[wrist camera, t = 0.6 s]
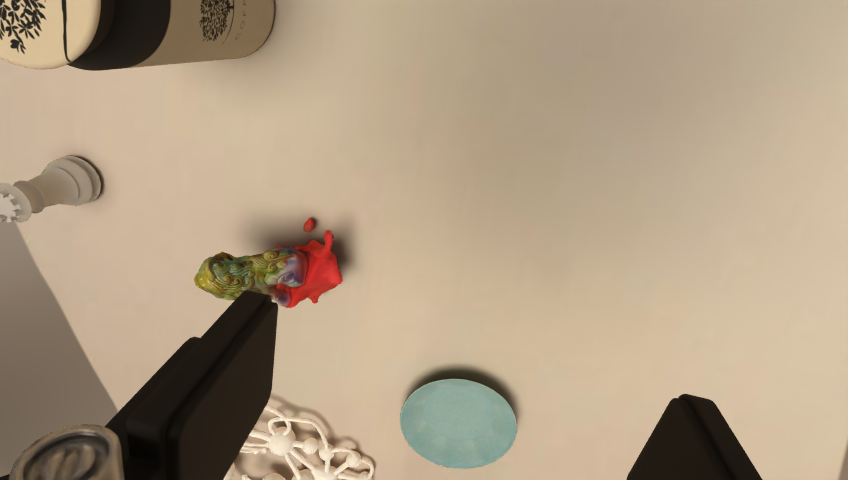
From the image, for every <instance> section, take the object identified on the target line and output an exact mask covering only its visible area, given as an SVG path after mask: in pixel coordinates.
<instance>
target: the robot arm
mask: <svg viewBox="0 0 848 480" xmlns="http://www.w3.org/2000/svg"><path fill="white" fill-rule="evenodd" d="M277 314H278V304H277V303H274V302H272V299H271V296H270V295H267V294H263V293H259V292H255V291H251V290H245V291H243V292H242V293H241V294H240V296H239V297H238V298H237V299H236V300H235V301H234V302H233V303H232V304H231V305H230V306H229V308H228V309H227V310H226V311H225V312H224V313H223V314H222V315H221V316H220V317H219V318H218V320H217V321H216V322H215V323H214V324H213V325H212V326H211V327H210V328H209V329H208V331H207V332H206V333H205V334H204V335H203V336H202V337H201V338H198V337H192V338H190V339H189V340H187V341H186V342H185V343H184V344H183V345H182V346H181V347H180V348H179V349H178V350H177V351H176V352H175V353H174V354H173V355H172V357H171V358H170V359H169V360H168V361H167V362H166V363H165V364H164V365H163V366H162V367H161V368H160V369H159V370H158V371H157V372H156V373H155V374H154V375H153V376H152V378H151V379H150V380H149V381H148V382H147V383H146V384H145V385H144V386H143V387H142V388H141V389H140V390H139V391H138V392H137V393H136V394H135V395H134V396H133V397H132V399H131V400H130V401H129V402H128V403H127V404H126V405H125V406H124V407H123V408H122V409H121V410H120V411H119V412H118V413H117V414H116V415H115V416H114V417H113V418H112V420H111V421H110V422H109V423H108V424H107V425H106V426H105V427H103V426H99V425H88V424H82V425H76V426H70V427H66V428H63V429H60V430H57V431H54V432H52V433H50V434H48V435H46V436H44V437H42V438H41V439H39V440H37V441H35V442H34V443H33V444H32V445H31V446H29V447H28V448H27V449H26V450H24V451H23V452H22V454H21V455H20V456H19V458H18V459H17V460H16V461H15V463H14V464H13V467H12V469H11V472H10V474H8V475H5V476H2V477H0V480H223V479H224V478H225V476H226V474H227V472H228V471H229V469H230V467H231V465H232V464H233V462H234V460H235V459H236V457H237V455H238V453H239V452H240V450H241V448H242V446H243V445H244V443H245V441H246V439H247V438H248V436H249V434H250V433H251V431H252V429H253V427H254V426H255V424H256V422H257V420H258V419H259V417H260V415H261V413H262V412H263V410H264V408H265V407H266V405H267V403H268V400H269V397H270V394H271V389H272V378H273V365H274V352H275V340H276V327H277ZM627 480H762V478H761V477H760V475H759V474H758V472H757V470H756V469H755V467H754V465H753V464H752V462H751V461H750V459H749V457H748V456H747V454H746V453H745V451H744V449H743V448H742V446H741V445H740V443H739V441H738V440H737V438H736V437H735V435H734V433H733V432H732V430H731V428H730V427H729V425H728V424H727V422H726V420H725V419H724V417H723V416H722V414H721V412H720V411H719V409H718V408H717V406H716V404H715V403H714V402H713V401H711V400H709V399H705V398H701V397H697V396H693V395H688V394H682V395H681V396H679V398H674V399H672V400H671V401H670V403H669V404H668V406H667V408H666V410H665V411H664V413H663V415H662V417H661V418H660V420H659V422H658V424H657V425H656V427H655V429H654V431H653V432H652V434H651V436H650V438H649V439H648V441H647V443H646V445H645V446H644V448H643V450H642V451H641V453H640V455H639V457H638V458H637V460H636V462H635V464H634V465H633V467H632V469H631V471H630V472H629V474H628V477H627Z"/></svg>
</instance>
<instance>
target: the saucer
mask: <svg viewBox="0 0 848 480" xmlns="http://www.w3.org/2000/svg"><path fill="white" fill-rule="evenodd" d="M400 425H401V430H402V433H403V435H404V437H405V439H406V441H407V442H408V444H409V445H410V446H411V447H412V448H413V450H415V451H416V452H417V453H418V454H419V455H421V456H422V457H424V458H425V459H427V460H429V461H431V462H433V463H435V464H438V465H441V466H444V467H449V468H457V469H469V468H477V467H481V466H484V465H487V464H490V463H492V462H494V461H496V460H498V459H499V458H501V457H502V456H503V455H504V454H506V453H507V451H508V450H509V449H510V448H511V446H512V444H513V442H514V440H515V437H516V434H517V422H516V417H515V415H514V412H513V410H512V408H511V407H510V405H509V404H508V402H507V401H506V400H505V399H504V398H503V397H502V396H501V395H500V394H498V393H497V392H496V391H494V390H493V389H491V388H489V387H487V386H485V385H483V384H480V383H477V382H474V381H470V380H464V379H443V380H438V381H433V382H430V383H428V384H426V385H423V386H422V387H420V388H418V389H417V390H416V391H414V392H413V393H412V394H411V395H410V396H409V397H408V399H407V400H406V402H405V403H404V405H403V407H402V411H401V414H400Z"/></svg>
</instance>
